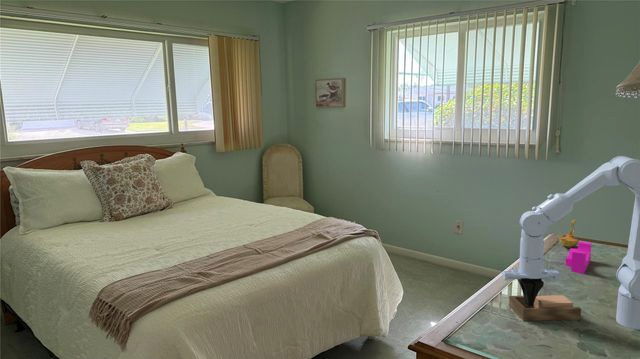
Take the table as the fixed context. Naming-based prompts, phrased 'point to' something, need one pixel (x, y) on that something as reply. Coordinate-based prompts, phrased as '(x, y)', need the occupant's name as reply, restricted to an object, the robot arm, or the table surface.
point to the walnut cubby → (542, 311)
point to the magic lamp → (569, 239)
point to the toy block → (579, 257)
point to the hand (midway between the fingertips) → (529, 304)
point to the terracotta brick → (552, 301)
